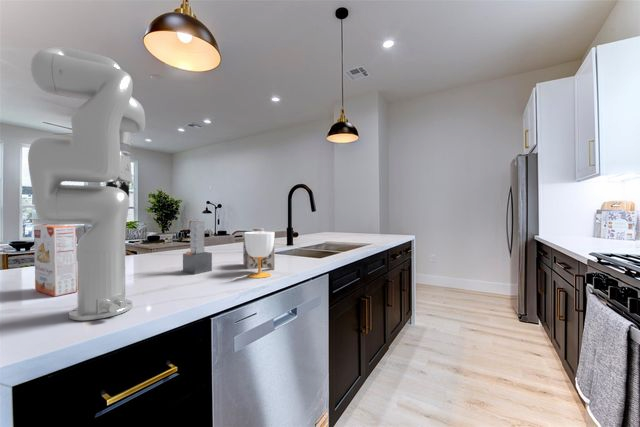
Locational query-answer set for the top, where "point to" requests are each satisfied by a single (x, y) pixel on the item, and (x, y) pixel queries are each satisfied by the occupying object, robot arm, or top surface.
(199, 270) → the stand base
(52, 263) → the cracker box
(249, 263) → the decorative jar
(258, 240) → the cup
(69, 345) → the top surface
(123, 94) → the robot arm
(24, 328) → the top surface
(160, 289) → the top surface
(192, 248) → the column
